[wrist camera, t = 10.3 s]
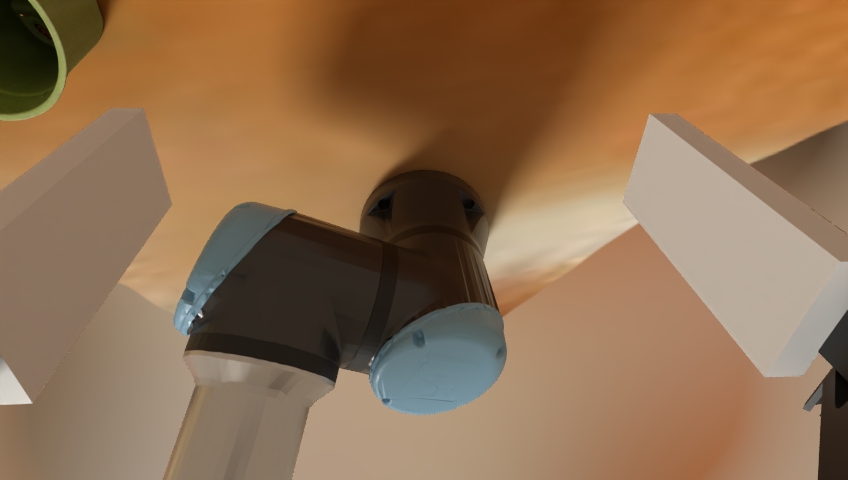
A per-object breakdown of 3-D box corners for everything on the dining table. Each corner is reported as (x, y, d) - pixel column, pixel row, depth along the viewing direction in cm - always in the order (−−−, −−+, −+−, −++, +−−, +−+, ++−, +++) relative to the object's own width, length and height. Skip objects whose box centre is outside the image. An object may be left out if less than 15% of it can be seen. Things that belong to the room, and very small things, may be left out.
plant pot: (-29, -96, 38) (-161, -96, 29) (134, -36, 41) (63, -19, 32) (-13, 52, 44) (-117, 91, 35) (129, 95, 47) (67, 141, 38)
